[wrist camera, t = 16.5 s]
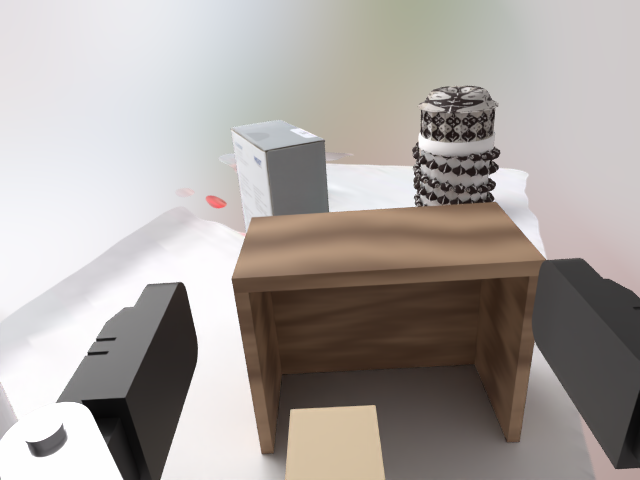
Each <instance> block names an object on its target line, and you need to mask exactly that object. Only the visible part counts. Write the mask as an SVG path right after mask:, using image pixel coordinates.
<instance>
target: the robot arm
mask: <svg viewBox="0 0 640 480" xmlns="http://www.w3.org/2000/svg"><path fill="white" fill-rule="evenodd" d="M532 331H533V336H534V339H535V342H536V345H537V346H538V348H539V350H540V351H541V353H542V354H543V356H544V357H545V359H546V361H547V362H548V364H549V365H550V367H551V368H552V370H553V372H554V373H555V375H556V376H557V378H558V379H559V381H560V383H561V384H562V386H563V387H564V389H565V390H566V392H567V394H568V395H569V397H570V398H571V400H572V401H573V403H574V405H575V406H576V408H577V409H578V411H579V412H580V414H581V416H582V417H583V419H584V420H585V422H586V423H587V425H588V426H589V428H590V430H591V431H592V433H593V434H594V436H595V438H596V439H597V441H598V442H599V444H600V445H601V447H602V449H603V450H604V452H605V453H606V455H607V456H608V458H609V459H610V461H611V463H612V464H613V466H614V468H615V469H627V468H640V298H639V297H638V296H637V295H636V294H635V293H634V292H633V291H631V290H629V289H627V288H625V287H623V286H621V285H620V284H618V283H616V282H614V281H612V280H610V279H603V278H602V277H601V276H600V275H599V274H598V273H597V272H596V271H595V270H594V269H593V268H592V267H591V266H590V265H589V264H588V263H587V262H586V261H585V260H583V259H581V258H573V259H559V260H545V261H544V262H543V263H542V264H541V266H540V270H539V276H538V282H537V288H536V295H535V301H534V308H533V314H532ZM197 356H198V344H197V336H196V332H195V327H194V323H193V318H192V314H191V309H190V305H189V300H188V296H187V291H186V288H185V286H184V284H183V283H182V282H176V283H160V284H148V285H147V286H146V287H145V289H144V290H143V292H142V294H141V296H140V297H139V299H138V301H137V303H136V304H135V306H134V307H127V308H123V309H122V310H121V311H120V312H119V313H117V314H116V315H115V316H114V317H112V318H111V319H110V320H109V321H107V322H106V324H105V325H104V327H103V329H102V330H101V332H100V333H99V335H98V337H97V338H96V342H94V343H93V344H92V346H91V348H90V349H89V351H88V356H85V357H84V359H83V360H82V362H81V364H80V365H79V367H78V368H77V370H76V372H75V373H74V375H73V376H72V378H71V380H70V381H69V383H68V384H67V386H66V388H65V389H64V391H63V392H62V394H61V395H60V397H59V399H58V400H57V402H56V403H55V404H53V405H49V406H46V407H44V408H41V409H39V410H36V411H35V412H33V413H31V414H29V415H27V416H26V417H24V418H23V419H21V420H20V421H19V422H18V419H17V417H16V415H15V413H14V410H13V408H12V406H11V404H10V402H9V400H8V397H7V395H6V393H5V391H4V389H3V386H2V384H1V382H0V480H160V479H161V475H162V472H163V469H164V466H165V463H166V460H167V456H168V453H169V450H170V447H171V444H172V440H173V437H174V434H175V431H176V428H177V424H178V421H179V418H180V415H181V412H182V409H183V405H184V402H185V399H186V396H187V393H188V389H189V386H190V383H191V380H192V377H193V374H194V370H195V367H196V363H197Z"/></svg>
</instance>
